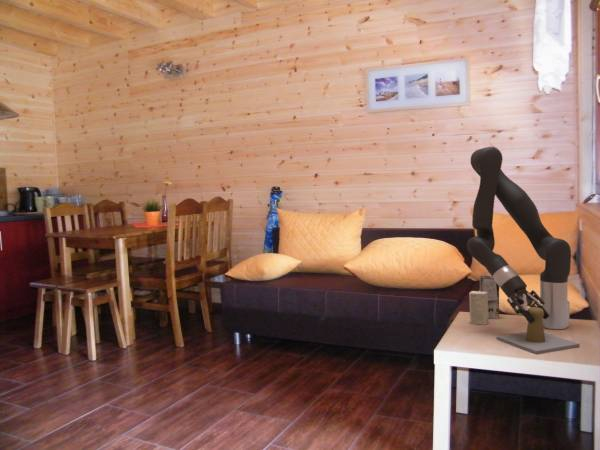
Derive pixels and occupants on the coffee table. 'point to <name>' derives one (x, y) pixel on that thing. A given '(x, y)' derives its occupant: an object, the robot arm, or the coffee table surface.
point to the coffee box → (491, 295)
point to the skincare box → (478, 307)
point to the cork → (536, 326)
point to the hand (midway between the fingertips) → (540, 319)
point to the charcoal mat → (537, 348)
